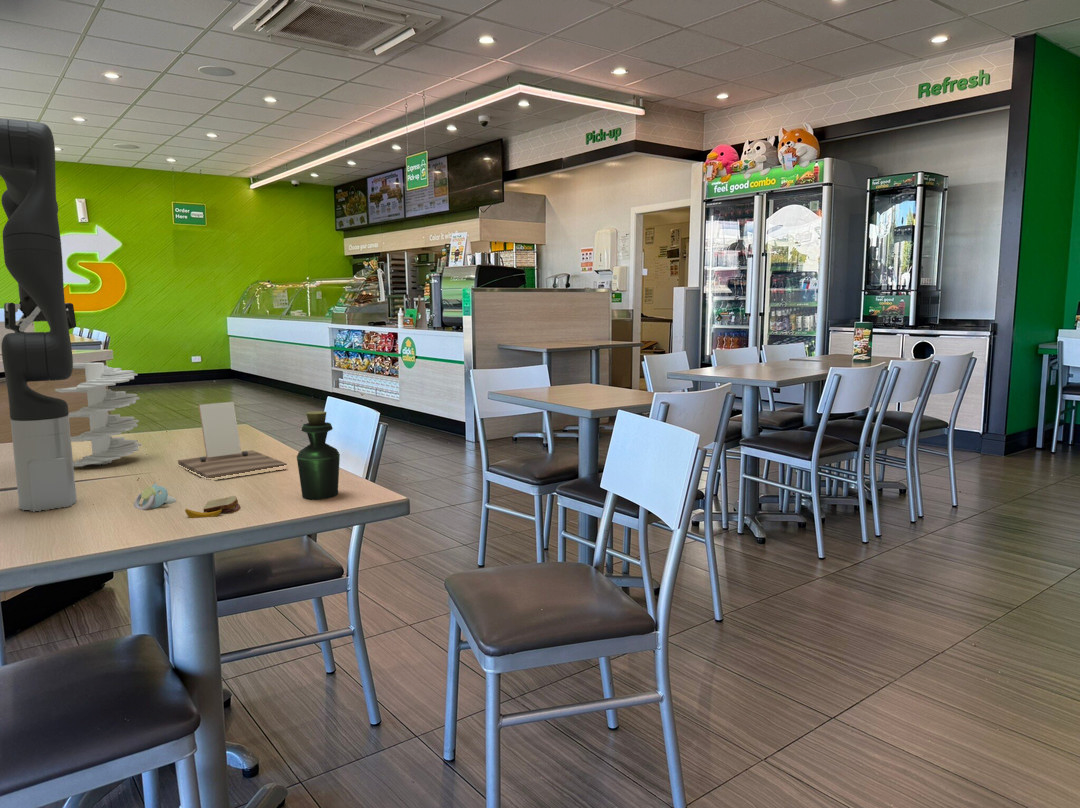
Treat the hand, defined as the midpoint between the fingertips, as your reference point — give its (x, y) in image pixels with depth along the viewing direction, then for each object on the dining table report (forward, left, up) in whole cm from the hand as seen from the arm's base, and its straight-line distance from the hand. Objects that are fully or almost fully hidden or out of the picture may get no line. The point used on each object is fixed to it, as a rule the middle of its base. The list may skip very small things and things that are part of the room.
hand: (43, 347), depth 173 cm
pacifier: (-56, -6, -30) cm, 64 cm away
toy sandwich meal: (-69, -14, -30) cm, 76 cm away
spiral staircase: (0, -10, -29) cm, 31 cm away
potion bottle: (-72, -34, -29) cm, 85 cm away
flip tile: (-23, -32, -27) cm, 48 cm away
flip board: (-28, -32, -29) cm, 52 cm away
